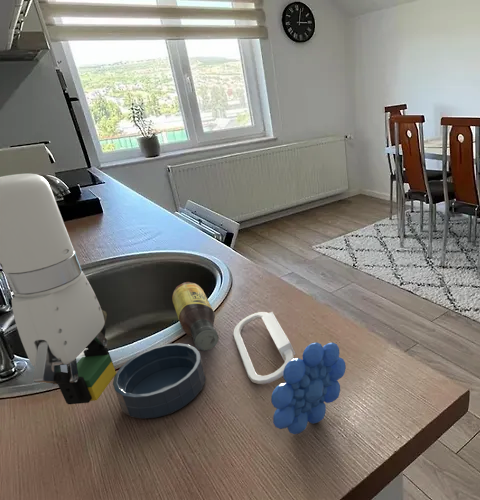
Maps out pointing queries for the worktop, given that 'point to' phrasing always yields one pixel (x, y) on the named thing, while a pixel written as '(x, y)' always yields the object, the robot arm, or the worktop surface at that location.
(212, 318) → the sauce bottle
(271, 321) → the oval loop handle
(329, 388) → the blue flower ornament
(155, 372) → the bowl
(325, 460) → the worktop surface
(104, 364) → the sponge
